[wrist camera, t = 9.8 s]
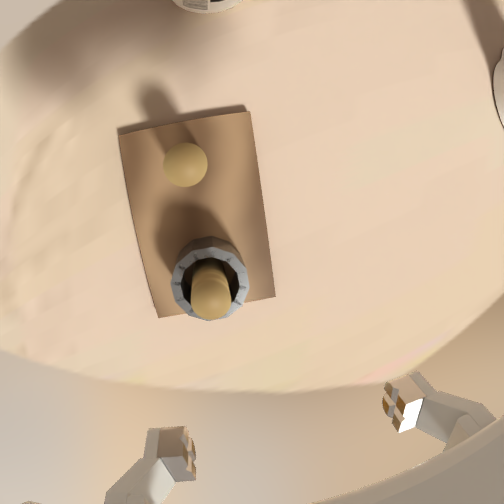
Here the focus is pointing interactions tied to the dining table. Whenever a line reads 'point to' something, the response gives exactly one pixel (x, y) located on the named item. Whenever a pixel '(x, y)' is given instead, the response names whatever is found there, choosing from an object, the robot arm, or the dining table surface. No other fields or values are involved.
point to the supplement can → (206, 5)
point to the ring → (207, 249)
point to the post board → (198, 207)
